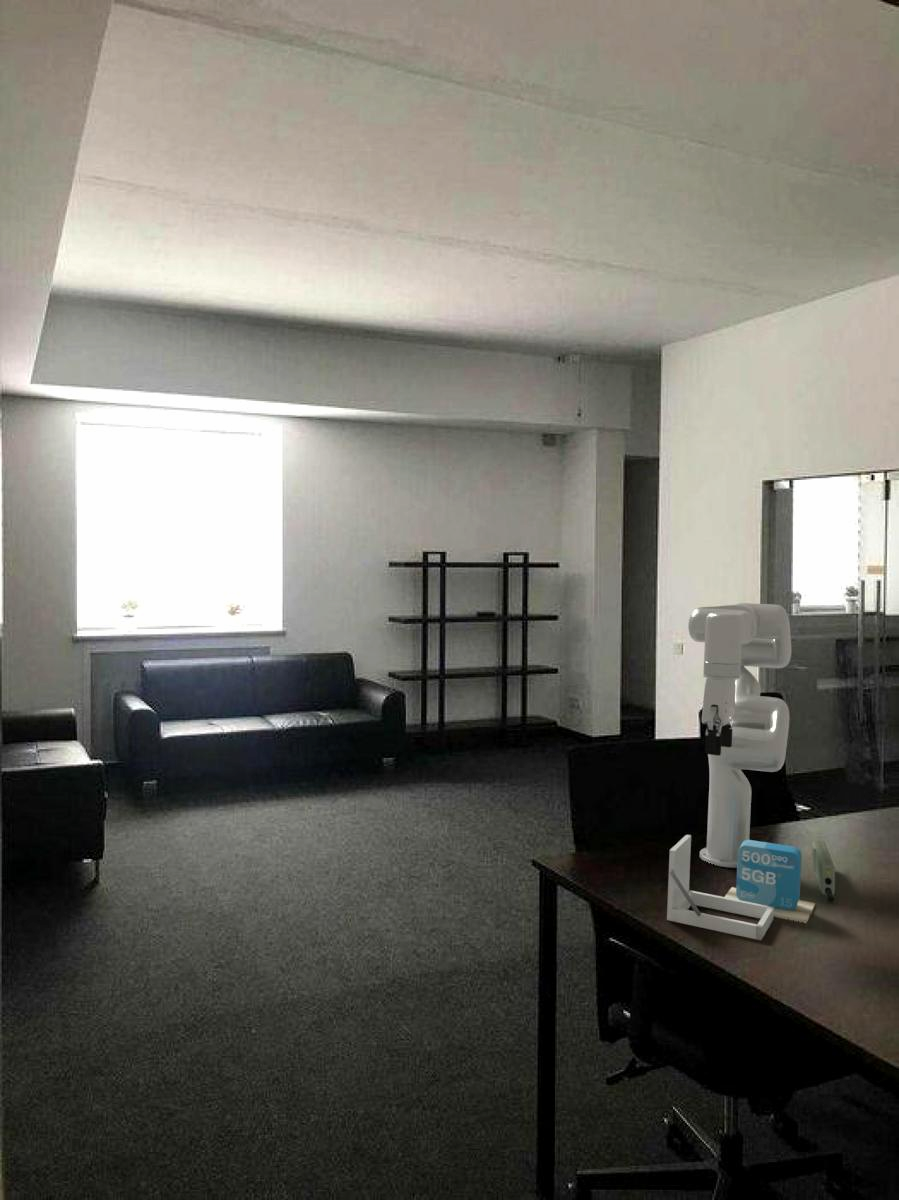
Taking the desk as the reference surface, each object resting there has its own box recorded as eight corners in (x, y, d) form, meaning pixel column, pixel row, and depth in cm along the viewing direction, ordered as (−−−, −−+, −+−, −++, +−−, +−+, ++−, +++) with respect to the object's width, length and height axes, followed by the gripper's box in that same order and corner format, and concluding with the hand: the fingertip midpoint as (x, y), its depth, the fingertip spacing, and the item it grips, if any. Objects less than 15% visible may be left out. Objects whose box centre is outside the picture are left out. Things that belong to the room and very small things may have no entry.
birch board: (731, 889, 207) (731, 887, 207) (815, 905, 199) (815, 903, 199) (719, 905, 197) (719, 903, 197) (806, 923, 189) (806, 920, 189)
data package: (735, 901, 199) (738, 844, 198) (739, 894, 203) (741, 838, 202) (796, 912, 194) (799, 853, 193) (799, 904, 198) (802, 847, 197)
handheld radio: (826, 868, 224) (840, 906, 199) (811, 867, 224) (823, 905, 200) (826, 839, 223) (840, 874, 199) (811, 839, 224) (823, 873, 200)
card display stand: (683, 900, 200) (686, 834, 199) (773, 919, 191) (776, 850, 190) (665, 921, 188) (668, 851, 187) (760, 942, 180) (763, 868, 179)
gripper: (714, 665, 213) (710, 741, 214) (693, 673, 198) (690, 755, 199) (748, 668, 209) (745, 745, 211) (730, 676, 194) (726, 760, 195)
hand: (718, 750), depth 205 cm, fingers open, 9 cm apart
